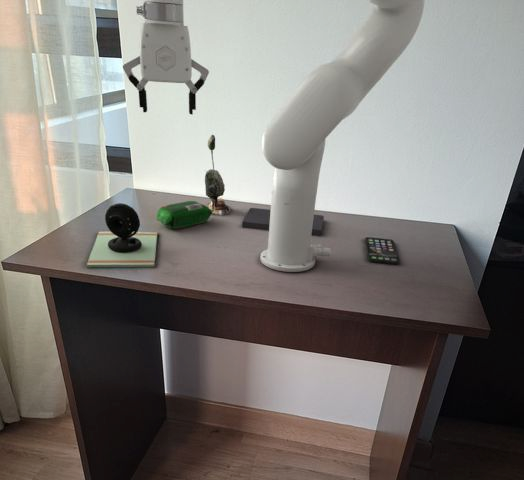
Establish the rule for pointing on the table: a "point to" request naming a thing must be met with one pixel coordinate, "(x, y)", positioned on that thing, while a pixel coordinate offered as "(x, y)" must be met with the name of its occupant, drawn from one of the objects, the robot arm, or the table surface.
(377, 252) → the smartphone
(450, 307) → the table surface
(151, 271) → the table surface
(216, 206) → the plant with pod
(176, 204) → the snack package
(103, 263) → the towel
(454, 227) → the table surface
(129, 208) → the webcam
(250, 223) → the notebook
